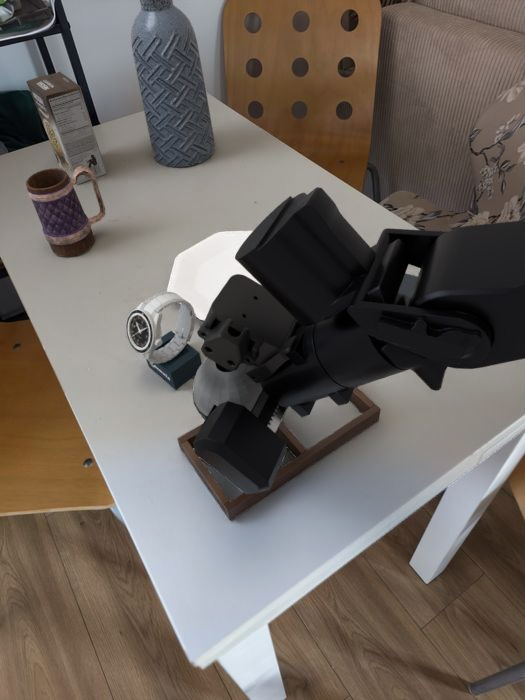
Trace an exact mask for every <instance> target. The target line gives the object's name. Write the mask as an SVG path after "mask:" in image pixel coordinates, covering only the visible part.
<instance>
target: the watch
mask: <svg viewBox="0 0 525 700" xmlns="http://www.w3.org/2000/svg"><path fill="white" fill-rule="evenodd" d="M179 303H181V304H179ZM175 304H179V305H180V308H179V309H178V318H177V321H176V326H175V329H174V331H172V330H170V331H168V332H167V333H165V334H164V335H163V334H162V325H161V323H162V320H163V319H162V318H163V313H162V311H163V310H164V309H166V308H168V307H169V306H171V305H175ZM125 323H126V324H125V332H126V337H127V340H128V343H129V345H130V346H131V347H132V349H133V350H134V352H136V353H138V354H140V355H141V356H142V357H143V358H144V359H145V361H146V363H147V365H148V367H149V369H150V370H151V371H152V372H154V373H155V374H156V375H158V376H159V377H160V378H161V379H162V380H163V381H164V382H166V384H168V385H169V386H170V387H171V388H172V389H174V390H175V391H177V390H179V389H180V388H181V387H183V386H184V385H186V383H188V382H189V381H191V380H192V379H193V378H195V376H196V373H197V370H198V369H199V367H200V366H201V364H202V363H203V362H202V357H201V353H200V352H199V351H198V350H197V349H195V348H194V347H193V346H192V345H190V344H189V343H188V342H191V339H192V336H193V333H194V329H195V325H196V314H195V313H194V309H193V306H192V305H191V304H190V303H189V302H187V301H186V300H185V299H183V298H182V297H180V296H179V295H177V294H176V293H173V292H167V291H161V292H158V293H156V294H153V295H152V296H151V297H149V298H147V299H146V300H143V301H142V302H141V303H140V304H139V305H137V307H136V308H135V309H133V310H131V311H130V313H129V314H128V316H127V318H126V322H125Z"/></svg>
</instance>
